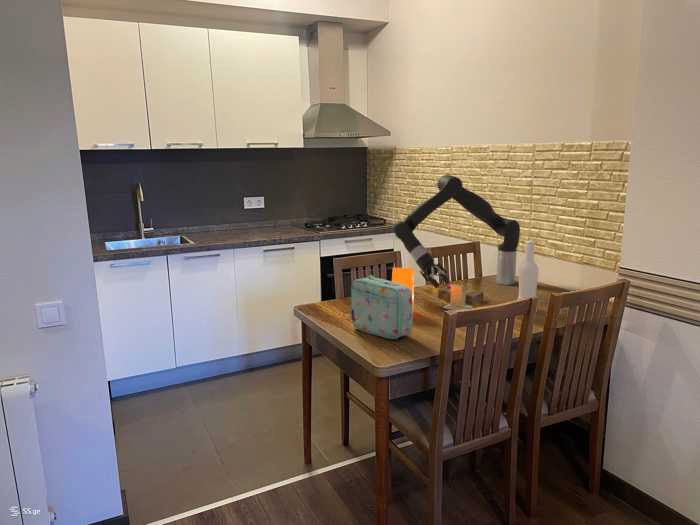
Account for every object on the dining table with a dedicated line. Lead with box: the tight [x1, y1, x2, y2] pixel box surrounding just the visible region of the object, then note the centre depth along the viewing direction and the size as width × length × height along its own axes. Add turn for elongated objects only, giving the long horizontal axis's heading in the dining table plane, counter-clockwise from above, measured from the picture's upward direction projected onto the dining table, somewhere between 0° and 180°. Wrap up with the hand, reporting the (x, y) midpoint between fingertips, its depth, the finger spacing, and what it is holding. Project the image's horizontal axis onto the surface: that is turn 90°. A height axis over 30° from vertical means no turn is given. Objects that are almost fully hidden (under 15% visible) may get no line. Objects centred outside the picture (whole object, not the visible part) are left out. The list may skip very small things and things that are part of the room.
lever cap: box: [449, 283, 467, 308], centre depth 219 cm, size 6×3×10 cm, turn 47°
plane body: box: [437, 282, 484, 306], centre depth 232 cm, size 18×10×6 cm, turn 47°
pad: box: [442, 303, 474, 311], centre depth 220 cm, size 10×8×1 cm
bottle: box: [517, 240, 539, 300], centre depth 212 cm, size 8×8×30 cm
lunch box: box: [349, 275, 414, 340], centre depth 189 cm, size 27×10×21 cm, turn 45°
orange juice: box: [391, 267, 415, 312], centre depth 212 cm, size 8×9×20 cm
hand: (443, 284), depth 225 cm, fingers open, 8 cm apart
